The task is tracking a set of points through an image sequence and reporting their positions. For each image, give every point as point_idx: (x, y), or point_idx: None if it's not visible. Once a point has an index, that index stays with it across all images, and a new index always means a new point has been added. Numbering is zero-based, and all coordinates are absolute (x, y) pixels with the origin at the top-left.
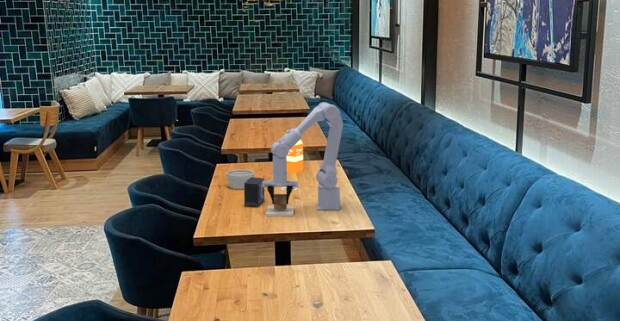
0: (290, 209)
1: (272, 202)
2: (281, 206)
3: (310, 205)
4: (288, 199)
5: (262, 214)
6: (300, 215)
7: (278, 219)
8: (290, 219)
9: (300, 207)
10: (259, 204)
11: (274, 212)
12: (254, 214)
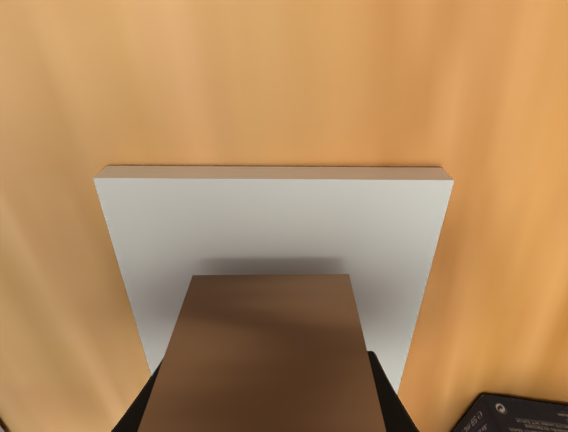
0: (169, 317)
1: (382, 370)
2: (249, 301)
3: (56, 422)
4: (127, 412)
5: (471, 225)
6: (33, 198)
7: (275, 26)
8: (101, 30)
9: (119, 390)
10: (463, 428)
11: (338, 227)
12: (563, 224)
